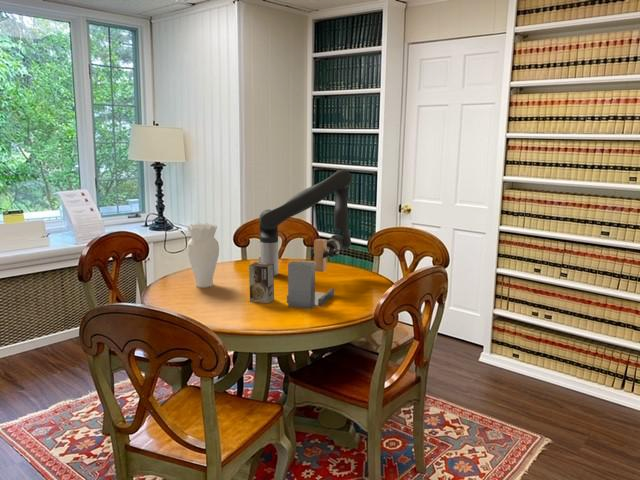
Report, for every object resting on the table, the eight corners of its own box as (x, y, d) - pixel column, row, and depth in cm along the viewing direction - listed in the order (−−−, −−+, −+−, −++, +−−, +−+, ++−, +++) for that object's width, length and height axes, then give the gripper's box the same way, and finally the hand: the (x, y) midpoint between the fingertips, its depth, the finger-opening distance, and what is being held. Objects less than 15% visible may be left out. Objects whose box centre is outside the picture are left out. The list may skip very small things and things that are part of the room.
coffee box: (274, 299, 234) (274, 263, 231) (268, 303, 228) (268, 266, 225) (255, 297, 237) (255, 261, 234) (249, 301, 231) (248, 264, 228)
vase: (219, 288, 249) (217, 227, 244) (187, 290, 247) (184, 227, 242) (220, 280, 263) (218, 222, 258) (189, 281, 261) (187, 222, 256)
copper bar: (313, 271, 242) (313, 240, 240) (317, 268, 247) (317, 238, 244) (323, 271, 241) (323, 241, 238) (326, 269, 245) (326, 239, 242)
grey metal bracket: (282, 305, 225) (282, 263, 221) (302, 291, 246) (302, 252, 243) (316, 310, 220) (317, 266, 216) (334, 294, 241) (334, 254, 238)
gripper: (316, 239, 257) (303, 246, 241) (344, 241, 252) (333, 248, 237) (316, 254, 259) (303, 262, 243) (344, 256, 254) (333, 265, 238)
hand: (318, 255), depth 240 cm, fingers closed on copper bar, 4 cm apart
